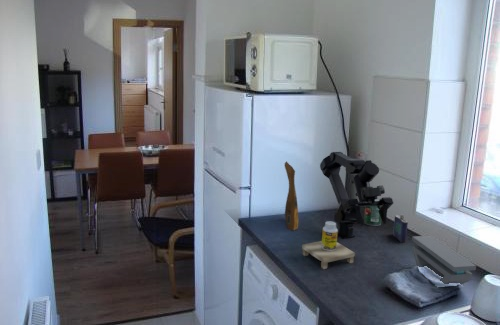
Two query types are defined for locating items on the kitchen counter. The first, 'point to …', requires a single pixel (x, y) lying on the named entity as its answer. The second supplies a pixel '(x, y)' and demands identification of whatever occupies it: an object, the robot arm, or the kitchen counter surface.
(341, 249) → the beige wooden stand
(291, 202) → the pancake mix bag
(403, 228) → the flask
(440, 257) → the sharpening stone
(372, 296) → the kitchen counter surface
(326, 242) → the supplement bottle
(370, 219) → the canned tomato
